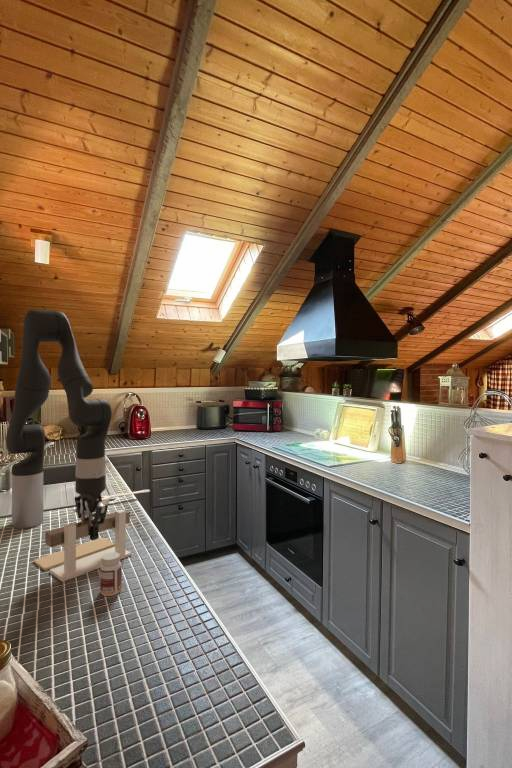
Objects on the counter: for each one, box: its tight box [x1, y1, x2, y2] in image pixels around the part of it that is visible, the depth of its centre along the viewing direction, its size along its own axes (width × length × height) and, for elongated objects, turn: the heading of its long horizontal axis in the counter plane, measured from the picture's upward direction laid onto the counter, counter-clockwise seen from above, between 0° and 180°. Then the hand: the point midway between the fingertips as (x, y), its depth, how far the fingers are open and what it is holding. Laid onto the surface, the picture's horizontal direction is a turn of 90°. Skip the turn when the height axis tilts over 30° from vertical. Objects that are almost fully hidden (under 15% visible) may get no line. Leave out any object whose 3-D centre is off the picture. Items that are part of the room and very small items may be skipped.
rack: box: [49, 508, 132, 583], centre depth 107 cm, size 7×19×13 cm, turn 140°
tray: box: [33, 537, 115, 571], centre depth 113 cm, size 7×20×1 cm, turn 140°
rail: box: [44, 509, 131, 548], centre depth 107 cm, size 3×22×3 cm, turn 140°
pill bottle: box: [99, 552, 123, 597], centre depth 94 cm, size 5×5×8 cm
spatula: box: [101, 489, 151, 506], centre depth 158 cm, size 28×6×3 cm, turn 128°
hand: (90, 537), depth 107 cm, fingers closed on rail, 3 cm apart
